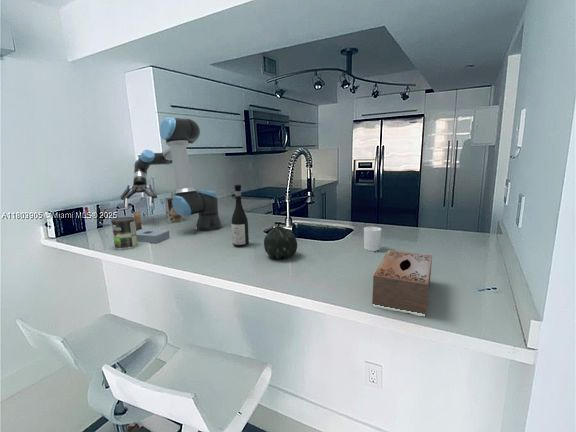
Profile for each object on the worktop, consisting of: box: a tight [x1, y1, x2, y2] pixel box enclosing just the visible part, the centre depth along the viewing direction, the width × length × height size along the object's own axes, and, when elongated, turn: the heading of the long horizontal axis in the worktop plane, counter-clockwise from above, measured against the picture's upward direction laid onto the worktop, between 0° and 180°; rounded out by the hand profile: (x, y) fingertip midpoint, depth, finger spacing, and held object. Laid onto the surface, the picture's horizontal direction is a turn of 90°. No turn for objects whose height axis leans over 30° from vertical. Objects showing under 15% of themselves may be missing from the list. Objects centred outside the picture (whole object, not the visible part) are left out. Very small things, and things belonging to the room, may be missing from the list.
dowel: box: [133, 211, 143, 231], centre depth 179 cm, size 3×3×12 cm
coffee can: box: [110, 216, 138, 251], centre depth 153 cm, size 10×10×14 cm
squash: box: [263, 225, 298, 260], centre depth 135 cm, size 14×15×15 cm
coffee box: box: [164, 197, 184, 224], centre depth 207 cm, size 9×6×16 cm
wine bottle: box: [230, 184, 250, 248], centre depth 150 cm, size 8×8×30 cm
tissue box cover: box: [371, 249, 433, 315], centre depth 98 cm, size 26×14×10 cm, turn 153°
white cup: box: [363, 226, 382, 250], centre depth 142 cm, size 8×8×10 cm
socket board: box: [136, 228, 170, 244], centre depth 166 cm, size 18×11×4 cm, turn 76°
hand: (138, 207), depth 186 cm, fingers open, 13 cm apart
